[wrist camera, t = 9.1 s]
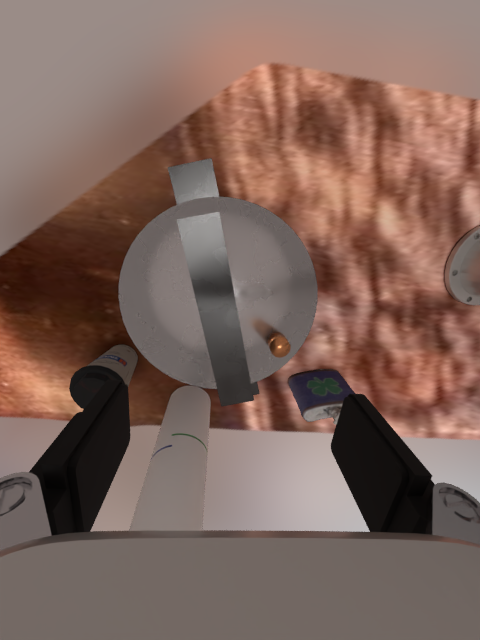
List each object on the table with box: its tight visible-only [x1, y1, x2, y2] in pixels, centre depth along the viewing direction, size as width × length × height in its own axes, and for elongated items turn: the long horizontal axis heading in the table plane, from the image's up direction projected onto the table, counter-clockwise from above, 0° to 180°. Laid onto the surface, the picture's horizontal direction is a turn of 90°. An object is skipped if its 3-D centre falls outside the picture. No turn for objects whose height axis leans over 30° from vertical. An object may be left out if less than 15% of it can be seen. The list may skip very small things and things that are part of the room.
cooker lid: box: [119, 197, 317, 406], centre depth 23 cm, size 19×19×6 cm
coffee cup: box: [69, 345, 138, 409], centre depth 36 cm, size 7×7×10 cm
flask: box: [288, 369, 355, 424], centre depth 39 cm, size 9×3×11 cm, turn 95°
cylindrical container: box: [129, 386, 211, 531], centre depth 33 cm, size 7×7×25 cm
